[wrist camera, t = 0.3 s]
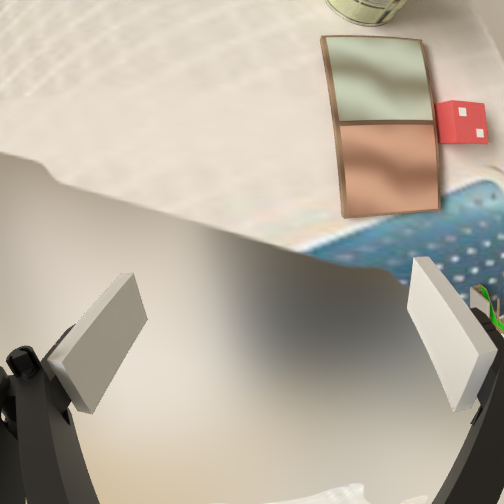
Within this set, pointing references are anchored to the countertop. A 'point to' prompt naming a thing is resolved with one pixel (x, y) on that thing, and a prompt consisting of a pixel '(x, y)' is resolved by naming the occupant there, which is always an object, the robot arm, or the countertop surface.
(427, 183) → the green brown wooden board
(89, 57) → the countertop surface
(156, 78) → the countertop surface
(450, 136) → the red cube
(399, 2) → the coffee can
